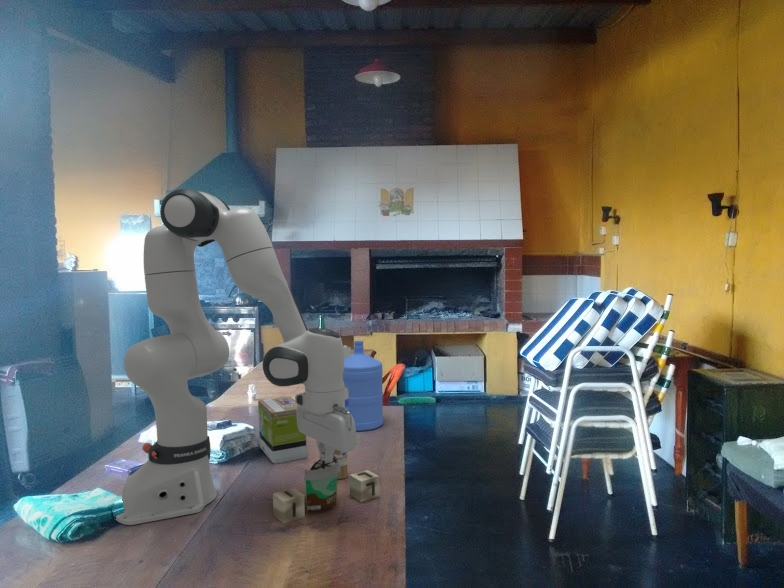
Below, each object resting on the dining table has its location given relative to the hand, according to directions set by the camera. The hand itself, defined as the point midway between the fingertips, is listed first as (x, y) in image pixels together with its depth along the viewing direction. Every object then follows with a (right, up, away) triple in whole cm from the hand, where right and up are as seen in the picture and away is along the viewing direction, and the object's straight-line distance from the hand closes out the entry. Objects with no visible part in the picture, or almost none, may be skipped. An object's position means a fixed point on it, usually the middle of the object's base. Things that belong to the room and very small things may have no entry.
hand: (326, 460), depth 131 cm
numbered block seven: (+8, -10, +5) cm, 14 cm away
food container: (0, -10, +1) cm, 10 cm away
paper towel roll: (-5, -4, +96) cm, 96 cm away
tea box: (-17, -8, +35) cm, 40 cm away
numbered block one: (-8, -11, -5) cm, 14 cm away
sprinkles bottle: (+1, -9, +18) cm, 20 cm away
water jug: (+4, -6, +63) cm, 63 cm away
